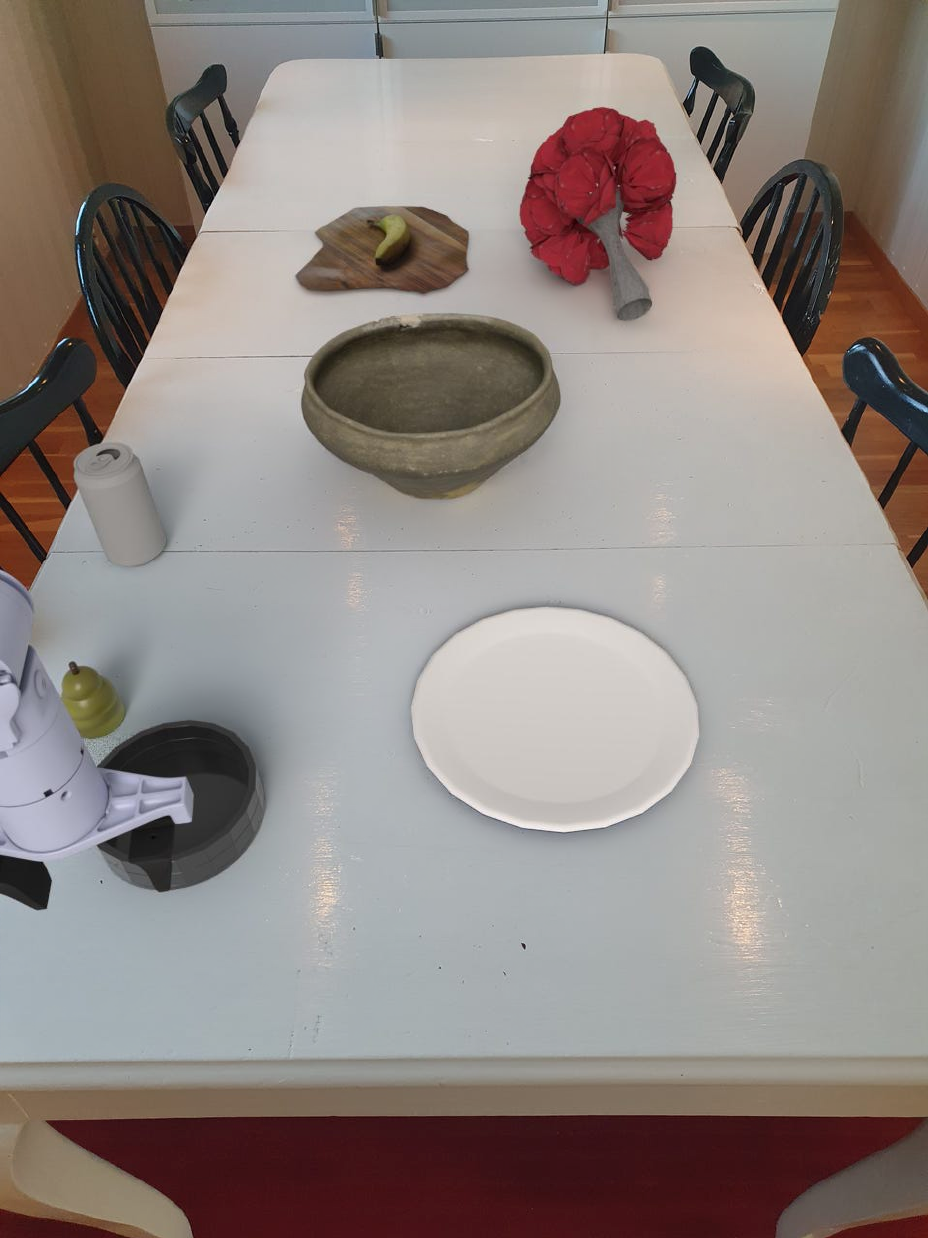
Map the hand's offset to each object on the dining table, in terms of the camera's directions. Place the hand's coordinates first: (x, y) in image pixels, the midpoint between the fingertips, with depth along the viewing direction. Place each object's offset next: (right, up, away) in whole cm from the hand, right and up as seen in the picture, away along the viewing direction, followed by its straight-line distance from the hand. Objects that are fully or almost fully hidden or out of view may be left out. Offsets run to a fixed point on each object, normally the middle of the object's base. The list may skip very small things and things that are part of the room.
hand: (105, 886), depth 59 cm
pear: (-9, +9, +22) cm, 25 cm away
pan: (0, +1, +15) cm, 15 cm away
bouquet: (+43, +69, +80) cm, 114 cm away
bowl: (+20, +34, +47) cm, 62 cm away
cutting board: (+11, +78, +91) cm, 120 cm away
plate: (+31, +9, +21) cm, 39 cm away
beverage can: (-12, +24, +38) cm, 47 cm away
